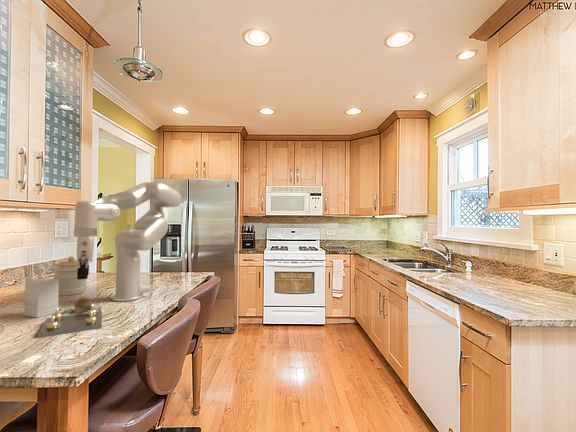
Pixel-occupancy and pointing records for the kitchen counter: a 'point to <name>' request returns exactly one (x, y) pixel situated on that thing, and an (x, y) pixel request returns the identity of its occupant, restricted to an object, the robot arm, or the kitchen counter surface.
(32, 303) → the supplement box
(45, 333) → the standoff base
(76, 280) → the jar
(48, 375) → the kitchen counter surface
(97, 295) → the kitchen counter surface
